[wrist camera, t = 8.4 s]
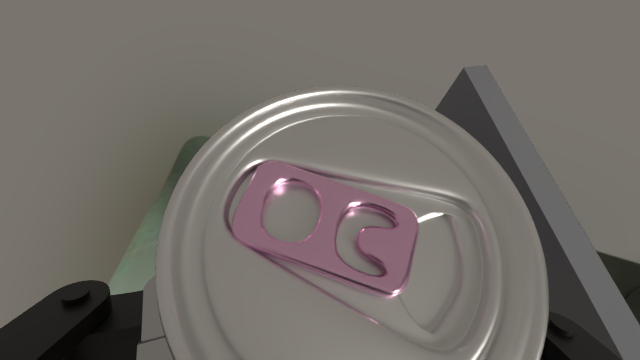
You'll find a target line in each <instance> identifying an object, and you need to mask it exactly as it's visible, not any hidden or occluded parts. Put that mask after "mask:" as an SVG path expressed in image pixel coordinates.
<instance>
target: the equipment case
mask: <svg viewBox="0 0 640 360" xmlns="http://www.w3.org/2000/svg"><path fill="white" fill-rule="evenodd" d="M435 111H437V112H438V113H440V114H442V115H444V116H445V117H447V118H448V119H450V120H451V121H453V122H454V123H456V124H457V125H458V126H460V127H461V128H463V129H464V130H465V131H466V132H468V133H469V134H470V135H471V136H472V137H474V138H475V139H476V140H477V141H478V142H479V143H480V144H481V145H482V146H483V147H484V148H485V149H486V150H487V151H488V152H489V153H490V154H491V155H492V156H493V157H494V158H495V160H496V161H497V162H498V163H499V164H500V165H501V167H502V168H503V169H504V171H505V172H506V173H507V175H508V176H509V177H510V179H511V181H512V182H513V184H514V185H515V187H516V188H517V190H518V192H519V193H520V195H521V197H522V198H523V200H524V202H525V204H526V206H527V208H528V210H529V212H530V215H531V217H532V220H533V222H534V224H535V227H536V230H537V233H538V236H539V239H540V242H541V246H542V250H543V253H544V258H545V264H546V269H547V277H548V287H549V311H550V312H554V313H557V314H559V315H562V316H564V317H566V318H568V319H570V320H572V321H573V322H575V323H576V324H578V325H579V326H581V327H582V328H583V329H584V330H586V331H587V332H588V333H589V334H590V335H592V336H593V337H594V338H595V339H597V340H598V341H599V342H600V343H602V344H603V345H604V346H605V347H606V348H608V349H609V350H610V351H611V352H613V353H614V354H615V355H616V356H618V357H619V358H620V359H621V360H640V325H639V323H638V322H637V320H636V318H635V317H634V315H633V313H632V311H631V310H630V308H629V306H628V305H627V303H626V301H625V300H624V298H623V296H622V294H621V293H620V291H619V289H618V288H617V286H616V284H615V283H614V281H613V279H612V278H611V276H610V274H609V272H608V271H607V269H606V267H605V266H604V264H603V262H602V261H601V259H600V257H599V255H598V254H597V252H596V250H595V249H594V247H593V246H592V244H591V242H590V240H589V239H588V237H587V235H586V233H585V232H584V230H583V228H582V227H581V225H580V223H579V222H578V220H577V218H576V217H575V215H574V213H573V211H572V210H571V208H570V206H569V205H568V203H567V201H566V199H565V198H564V196H563V194H562V193H561V191H560V189H559V188H558V186H557V184H556V183H555V181H554V179H553V177H552V176H551V174H550V172H549V171H548V169H547V167H546V166H545V164H544V162H543V161H542V159H541V157H540V155H539V154H538V152H537V150H536V149H535V147H534V145H533V144H532V142H531V140H530V139H529V137H528V135H527V133H526V132H525V130H524V128H523V127H522V125H521V123H520V121H519V120H518V118H517V117H516V115H515V113H514V112H513V110H512V108H511V106H510V105H509V103H508V101H507V100H506V98H505V96H504V94H503V93H502V91H501V89H500V88H499V86H498V84H497V82H496V81H495V79H494V77H493V76H492V75H491V72H490V71H489V69H488V67H487V66H486V65H484V66H474V67H464V68H463V69H462V71H461V72H460V74H459V75H458V77H457V79H456V80H455V81H454V83H453V84H452V86H451V87H450V89H449V90H448V92H447V93H446V95H445V96H444V98H443V99H442V101H441V102H440V104H439V105H438V107H437V108H436V109H435Z"/></svg>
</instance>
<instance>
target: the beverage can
mask: <svg viewBox="0 0 640 360" xmlns="http://www.w3.org/2000/svg"><path fill="white" fill-rule="evenodd" d="M155 281H156V295H157V304H158V310H159V315H160V320H161V325H162V328H163V331H164V335H165V338H166V342H167V344H168V347H169V350H170V352H171V355H172V357H173V360H540V359H541V355H542V352H543V348H544V343H545V338H546V333H547V325H548V316H549V287H548V277H547V269H546V264H545V258H544V253H543V250H542V246H541V242H540V239H539V236H538V233H537V230H536V227H535V224H534V222H533V220H532V217H531V215H530V212H529V210H528V208H527V206H526V204H525V202H524V200H523V198H522V197H521V195H520V193H519V192H518V190H517V188H516V187H515V185H514V184H513V182H512V181H511V179H510V177H509V176H508V175H507V173H506V172H505V171H504V169H503V168H502V167H501V165H500V164H499V163H498V162H497V161H496V160H495V158H494V157H493V156H492V155H491V154H490V153H489V152H488V151H487V150H486V149H485V148H484V147H483V146H482V145H481V144H480V143H479V142H478V141H477V140H476V139H475V138H474V137H472V136H471V135H470V134H469V133H468V132H466V131H465V130H464V129H463V128H461V127H460V126H458V125H457V124H456V123H454V122H453V121H451V120H450V119H448V118H447V117H445V116H444V115H442V114H440V113H438V112H437V111H435V110H433V109H431V108H429V107H427V106H425V105H423V104H420V103H418V102H416V101H413V100H411V99H409V98H406V97H403V96H400V95H397V94H393V93H390V92H386V91H382V90H378V89H372V88H366V87H357V86H319V87H313V88H306V89H301V90H296V91H292V92H288V93H284V94H281V95H279V96H276V97H273V98H270V99H268V100H266V101H263V102H261V103H259V104H257V105H255V106H253V107H251V108H249V109H248V110H246V111H244V112H242V113H241V114H239V115H238V116H236V117H235V118H233V119H232V120H231V121H229V122H228V123H227V124H225V125H224V126H223V127H222V128H221V129H219V131H217V132H216V133H215V134H214V135H213V136H212V137H211V138H210V139H209V140H208V141H207V142H206V143H205V144H204V145H203V146H202V147H201V149H200V150H199V151H198V152H197V153H196V155H195V156H194V157H193V159H192V160H191V161H190V163H189V164H188V166H187V167H186V169H185V170H184V172H183V174H182V175H181V177H180V179H179V181H178V182H177V184H176V187H175V189H174V191H173V193H172V195H171V197H170V200H169V202H168V205H167V208H166V211H165V214H164V217H163V220H162V224H161V228H160V233H159V238H158V244H157V252H156V266H155Z"/></svg>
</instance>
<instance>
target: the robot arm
mask: <svg viewBox="0 0 640 360" xmlns="http://www.w3.org/2000/svg"><path fill="white" fill-rule="evenodd" d="M626 303H627V305H628V306H629V308H630V310H631V311H632V313H633V315H634V317H635V318H636V320H637V322H638V323H639V325H640V288H639V289H636V290H634V291H633V292H631V293H630V294H629V296H628V297H627V298H626ZM0 360H173V357H172V355H171V352H170V350H169V347H168V344H167V342H166V338H165V335H164V331H163V328H162V325H161V320H160V315H159V310H158V304H157V295H156V281H155V277H153V278H152V279H150V280H149V281H148V282H147V284H146V285H145V287H144V290H142V291H137V292H131V293H125V294H118V295H111V296H110V289H109V286H108V285H107V284H106V283H104V282H101V281H94V280H93V281H92V280H89V281H81V282H76V283H73V284H70V285H67V286H64V287H62V288H60V289H58V290H56V291H54V292H53V293H51V294H50V295H48V296H47V297H45V298H44V299H42V300H41V301H40V302H38V303H37V304H35V305H34V306H33V307H31V308H29V309H28V310H27V311H25V312H24V313H22V314H21V315H19V316H18V317H17V318H15V319H14V320H12V321H11V322H9V323H8V324H7V325H5V326H4V327H2V328H1V329H0ZM540 360H621V359H620V358H619V357H618V356H616V355H615V354H614V353H613V352H611V351H610V350H609V349H608V348H606V347H605V346H604V345H603V344H602V343H600V342H599V341H598V340H597V339H595V338H594V337H593V336H592V335H590V334H589V333H588V332H587V331H586V330H584V329H583V328H582V327H581V326H579V325H578V324H576V323H575V322H573V321H572V320H570V319H568V318H566V317H564V316H562V315H559V314H557V313H554V312H550V311H549V316H548V325H547V333H546V338H545V343H544V348H543V352H542V355H541V359H540Z"/></svg>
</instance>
